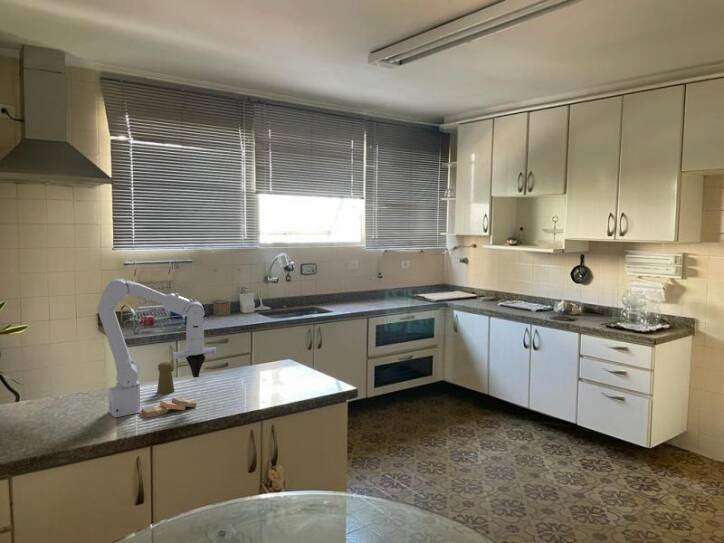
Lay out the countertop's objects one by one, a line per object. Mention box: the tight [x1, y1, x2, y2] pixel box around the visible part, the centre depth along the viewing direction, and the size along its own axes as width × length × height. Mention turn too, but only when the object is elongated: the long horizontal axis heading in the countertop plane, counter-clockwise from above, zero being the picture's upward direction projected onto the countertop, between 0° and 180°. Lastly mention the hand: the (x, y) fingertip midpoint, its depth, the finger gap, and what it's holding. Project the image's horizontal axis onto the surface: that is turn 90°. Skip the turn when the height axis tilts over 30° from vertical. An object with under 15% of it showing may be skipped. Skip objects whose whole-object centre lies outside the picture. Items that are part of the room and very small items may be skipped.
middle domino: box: [141, 404, 168, 418], centre depth 179 cm, size 1×5×6 cm
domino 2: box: [159, 400, 187, 411], centre depth 182 cm, size 1×5×6 cm
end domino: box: [171, 397, 197, 408], centre depth 185 cm, size 1×5×6 cm
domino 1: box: [138, 412, 166, 419], centre depth 179 cm, size 1×5×6 cm
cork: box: [156, 361, 175, 395], centre depth 202 cm, size 6×6×11 cm
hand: (195, 376), depth 188 cm, fingers closed
